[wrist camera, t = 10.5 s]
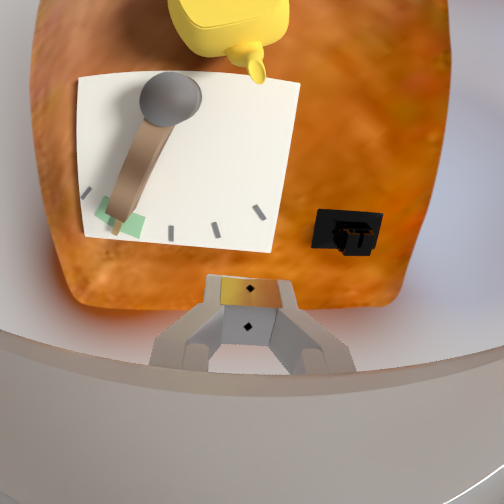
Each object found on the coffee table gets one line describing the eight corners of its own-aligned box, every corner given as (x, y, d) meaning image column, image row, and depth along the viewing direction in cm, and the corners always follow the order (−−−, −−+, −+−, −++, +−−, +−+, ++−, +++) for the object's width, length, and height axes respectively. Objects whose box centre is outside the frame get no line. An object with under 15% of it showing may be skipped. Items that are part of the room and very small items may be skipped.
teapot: (302, 78, 26) (334, 71, 17) (201, 102, 27) (183, 106, 18) (259, -51, 17) (269, -99, 8) (162, -28, 18) (133, -68, 9)
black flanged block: (392, 206, 35) (409, 221, 31) (380, 253, 38) (393, 271, 35) (305, 200, 34) (314, 215, 30) (298, 252, 38) (305, 272, 34)
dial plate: (85, 77, 24) (78, 77, 22) (297, 84, 26) (300, 83, 25) (89, 231, 34) (84, 237, 32) (269, 246, 36) (270, 253, 35)
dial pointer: (168, 67, 23) (156, 63, 19) (211, 88, 24) (206, 86, 21) (99, 222, 31) (84, 240, 27) (134, 239, 33) (122, 259, 29)
